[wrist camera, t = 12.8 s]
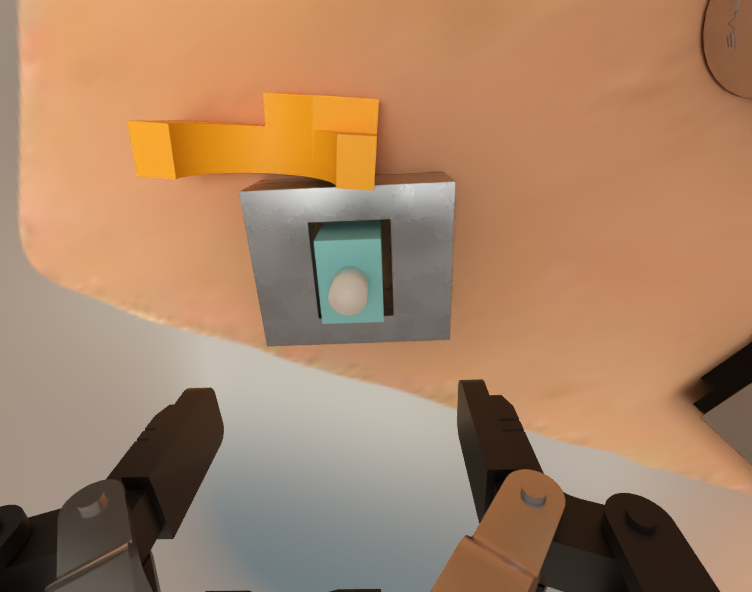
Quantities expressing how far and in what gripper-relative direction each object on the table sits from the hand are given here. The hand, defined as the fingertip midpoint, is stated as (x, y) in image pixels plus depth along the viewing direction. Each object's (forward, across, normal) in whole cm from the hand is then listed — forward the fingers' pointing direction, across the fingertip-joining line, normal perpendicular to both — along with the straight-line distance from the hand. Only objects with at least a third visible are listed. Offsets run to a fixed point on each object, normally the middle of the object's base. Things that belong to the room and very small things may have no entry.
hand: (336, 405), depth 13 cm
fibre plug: (+17, 0, 0) cm, 17 cm away
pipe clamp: (+17, +4, -8) cm, 19 cm away
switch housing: (+16, 0, 0) cm, 17 cm away
